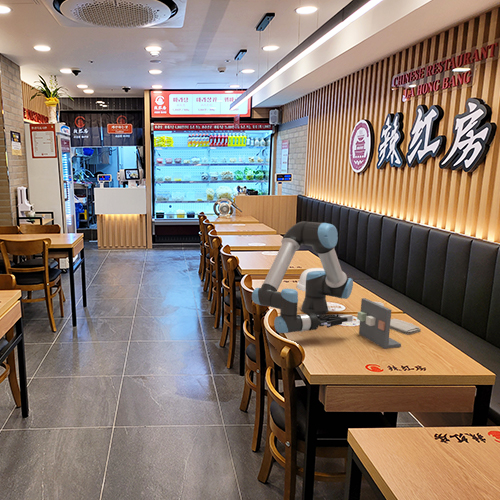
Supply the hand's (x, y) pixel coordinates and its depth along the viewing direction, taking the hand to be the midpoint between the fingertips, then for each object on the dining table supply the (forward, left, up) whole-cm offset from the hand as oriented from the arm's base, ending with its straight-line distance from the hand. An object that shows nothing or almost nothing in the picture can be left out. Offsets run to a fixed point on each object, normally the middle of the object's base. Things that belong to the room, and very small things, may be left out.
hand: (351, 318), depth 209 cm
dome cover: (-92, +33, -10) cm, 98 cm away
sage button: (0, +6, -2) cm, 7 cm away
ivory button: (+7, +6, -2) cm, 9 cm away
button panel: (+7, +12, -10) cm, 17 cm away
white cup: (-18, +27, -10) cm, 34 cm away
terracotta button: (+14, +8, -2) cm, 16 cm away
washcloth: (-6, +34, -10) cm, 36 cm away
